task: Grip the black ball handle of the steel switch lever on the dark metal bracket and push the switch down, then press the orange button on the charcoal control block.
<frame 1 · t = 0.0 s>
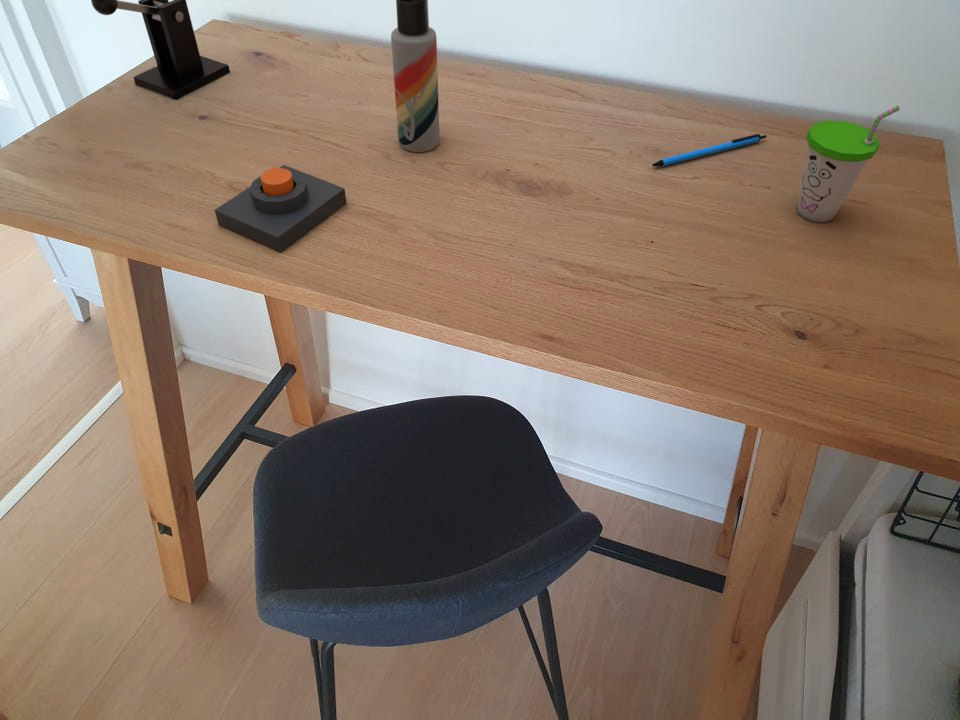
button: (277, 182, 91), point 4 cm above the table, slide at 0.1 cm
switch bracket: (183, 78, 119), on the table
cup: (814, 213, 95), on the table
pen: (708, 154, 105), on the table
control block: (283, 214, 94), on the table
lotion bottle: (419, 143, 106), on the table
switch: (135, 7, 108), point 12 cm above the table, hinge at 25.0°
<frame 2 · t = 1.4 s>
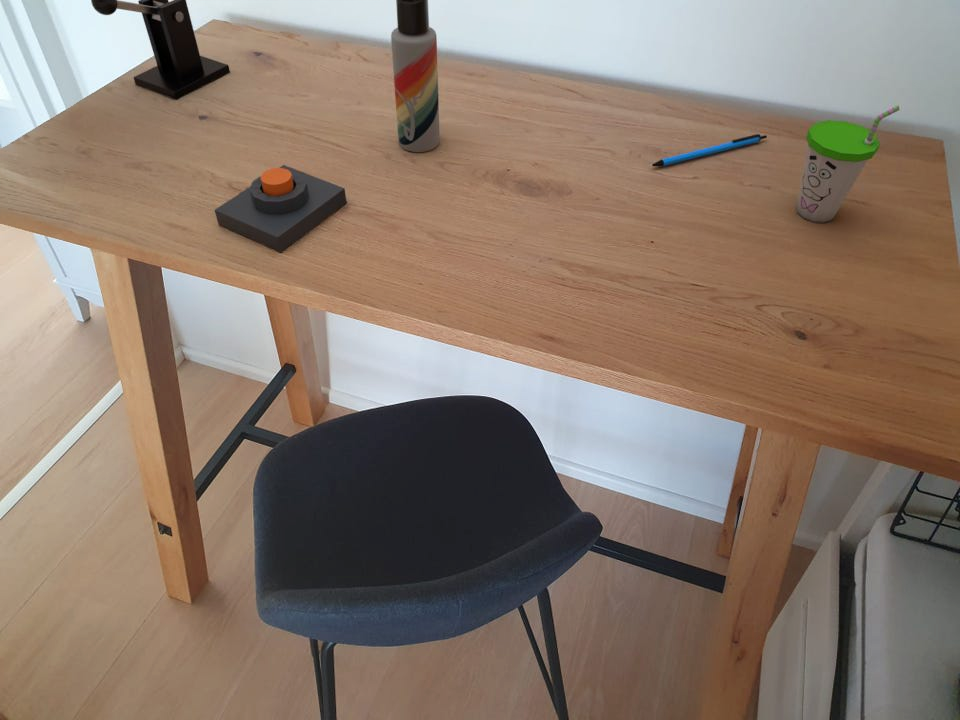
nothing on the table moved.
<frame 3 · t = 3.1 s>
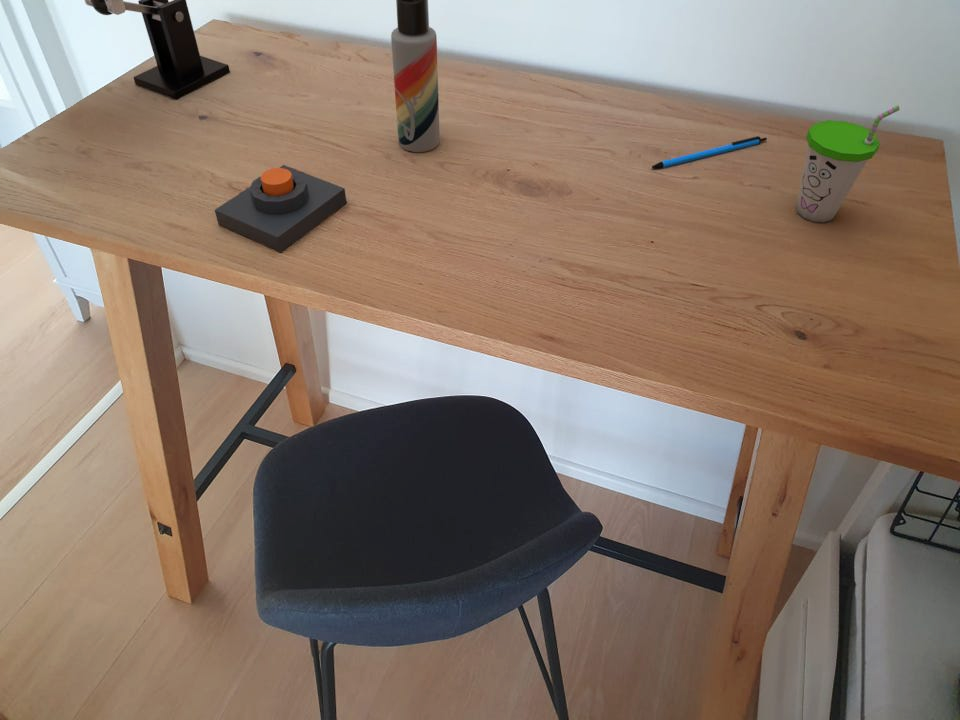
hand: (106, 9, 104), 13 cm above the table, tool pointing down, fingers closed on switch, 3 cm apart
switch: (135, 7, 108), point 12 cm above the table, hinge at 25.0°, touching gripper
everything else where it was.
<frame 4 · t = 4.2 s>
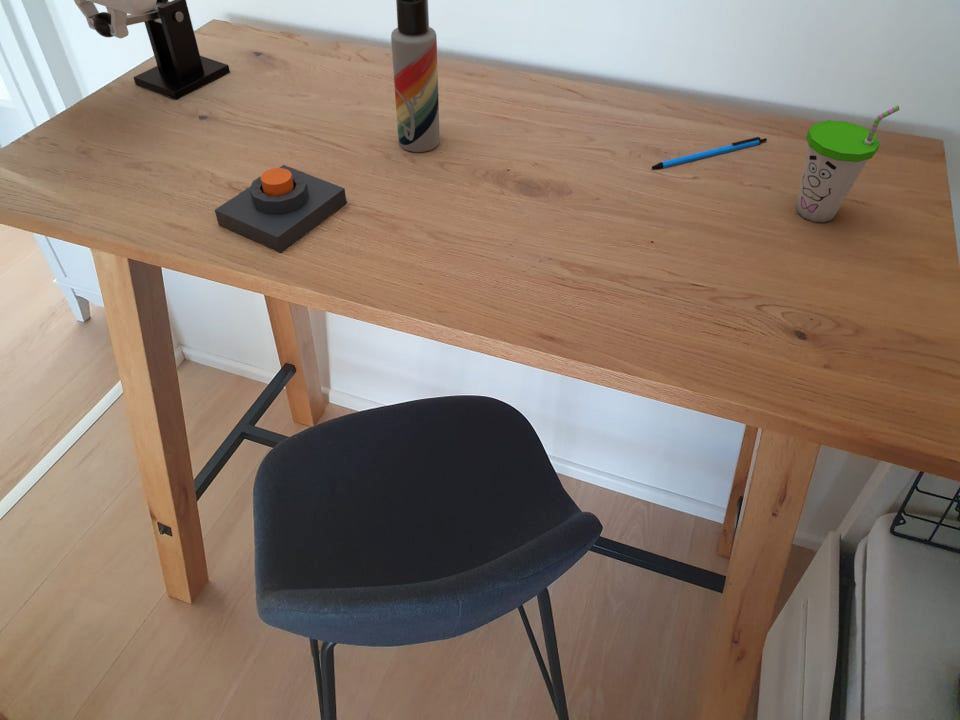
hand: (109, 32, 106), 10 cm above the table, tool pointing down, fingers closed on switch, 3 cm apart
switch: (136, 18, 108), point 11 cm above the table, hinge at 8.5°, touching gripper
everything else where it was.
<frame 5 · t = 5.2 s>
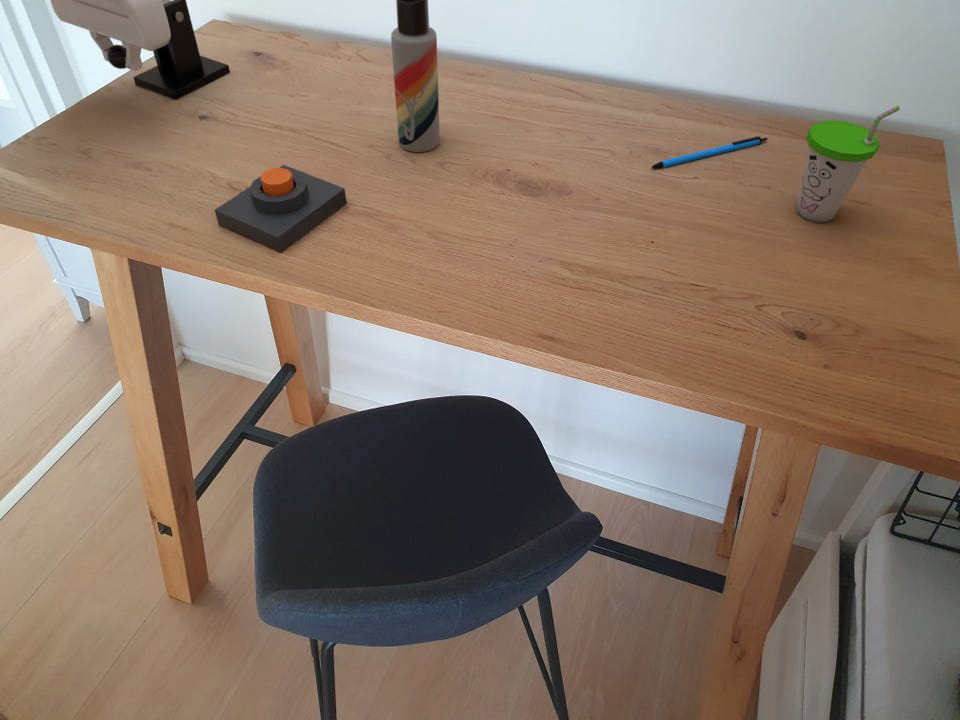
hand: (124, 64, 110), 6 cm above the table, tool pointing down, fingers closed on switch, 3 cm apart
switch: (142, 34, 110), point 8 cm above the table, hinge at -18.2°, touching gripper
everything else where it was.
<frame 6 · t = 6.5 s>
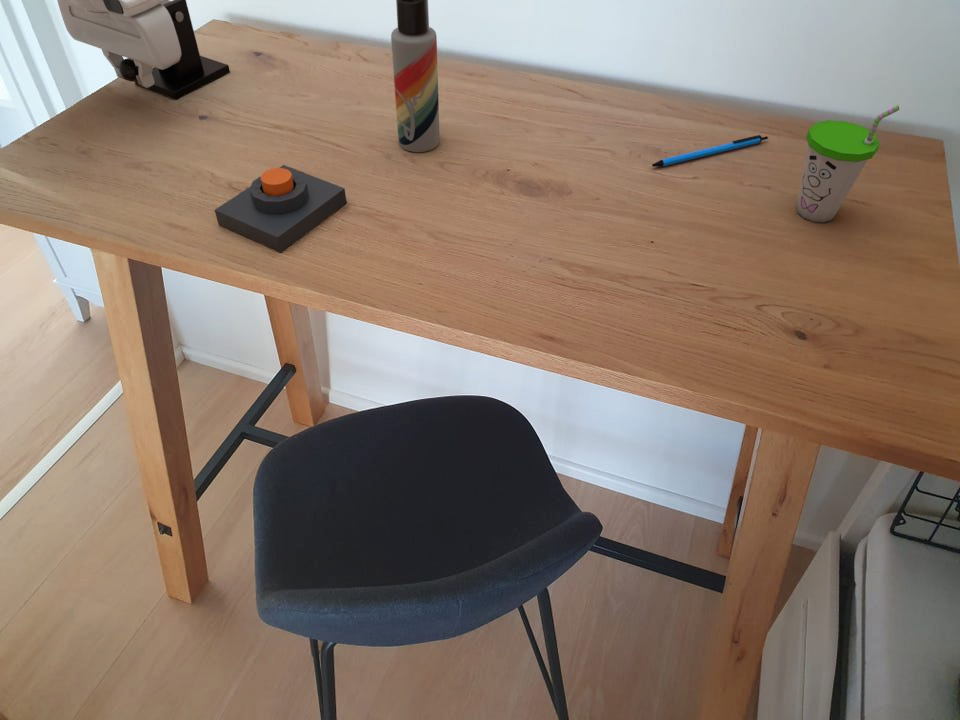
hand: (136, 81, 112), 3 cm above the table, tool pointing down, fingers closed on switch, 3 cm apart
switch: (147, 41, 111), point 7 cm above the table, hinge at -33.2°, touching gripper
everything else where it was.
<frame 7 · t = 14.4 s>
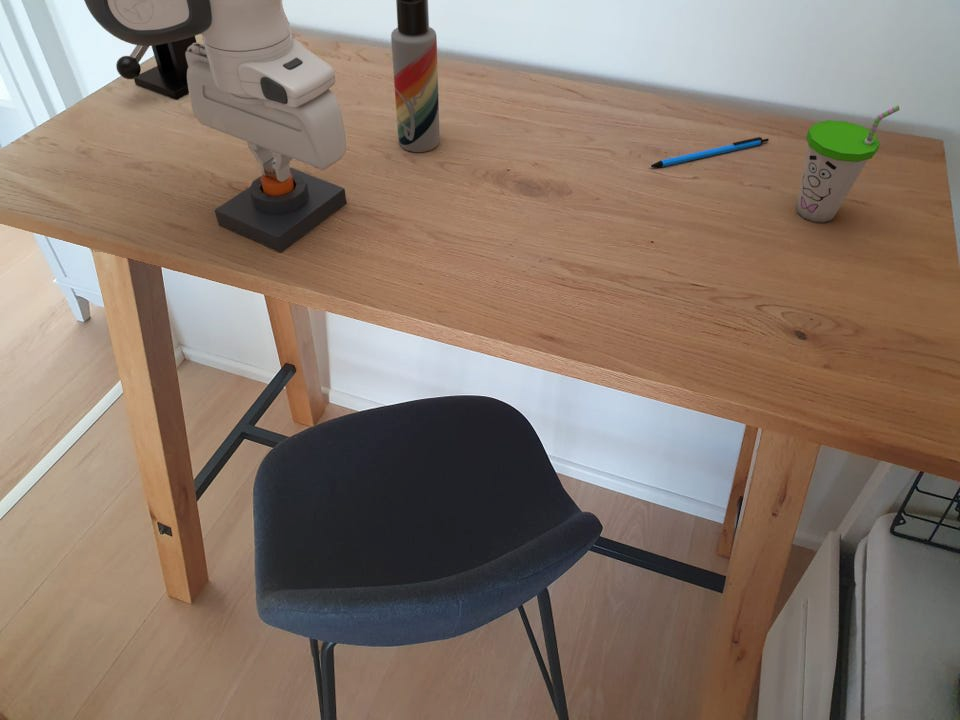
hand: (276, 176, 90), 5 cm above the table, tool pointing down, fingers closed, pressing on button
button: (277, 183, 91), point 4 cm above the table, slide at 0.0 cm, touching gripper
switch: (146, 40, 111), point 7 cm above the table, hinge at -30.1°
everything else where it was.
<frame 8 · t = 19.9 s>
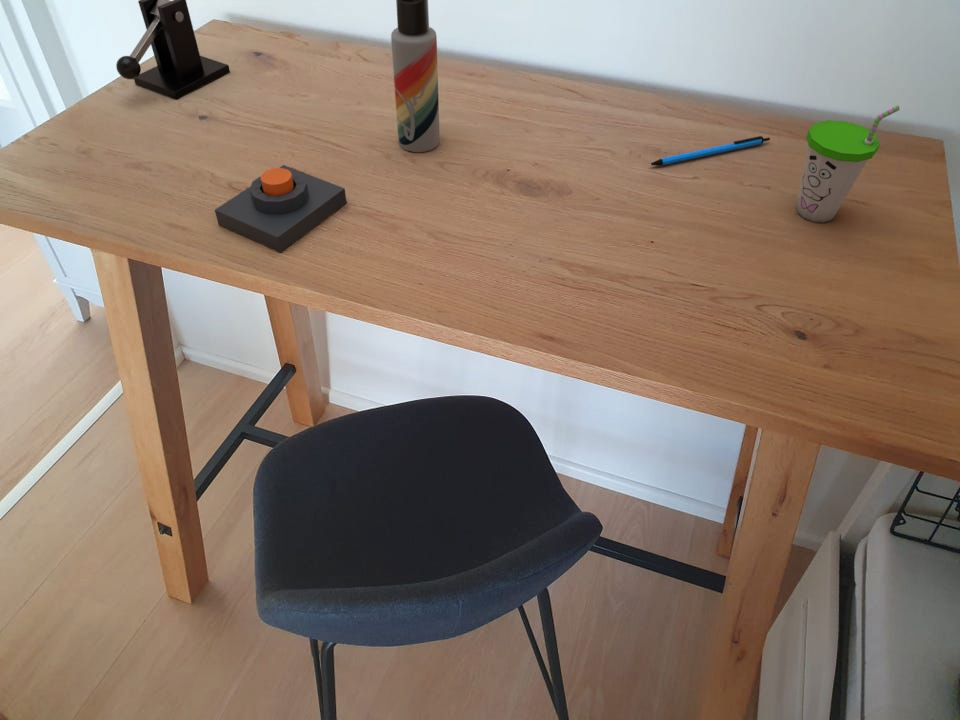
button: (277, 182, 91), point 4 cm above the table, slide at 0.1 cm
everything else where it was.
at the end: switch at -30° (first picture: +25°); button pushed in 1.0 cm at the most during the clip, back to where it started at the end; button slide at 0.1 cm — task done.
